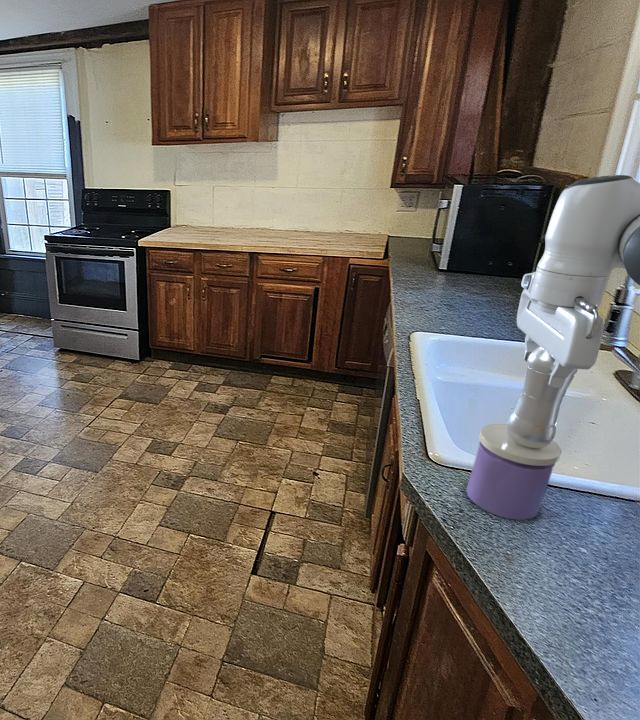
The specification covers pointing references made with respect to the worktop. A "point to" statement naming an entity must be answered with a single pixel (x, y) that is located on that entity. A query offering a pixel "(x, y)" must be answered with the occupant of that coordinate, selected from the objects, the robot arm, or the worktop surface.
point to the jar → (510, 474)
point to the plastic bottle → (537, 403)
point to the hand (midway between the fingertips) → (541, 373)
